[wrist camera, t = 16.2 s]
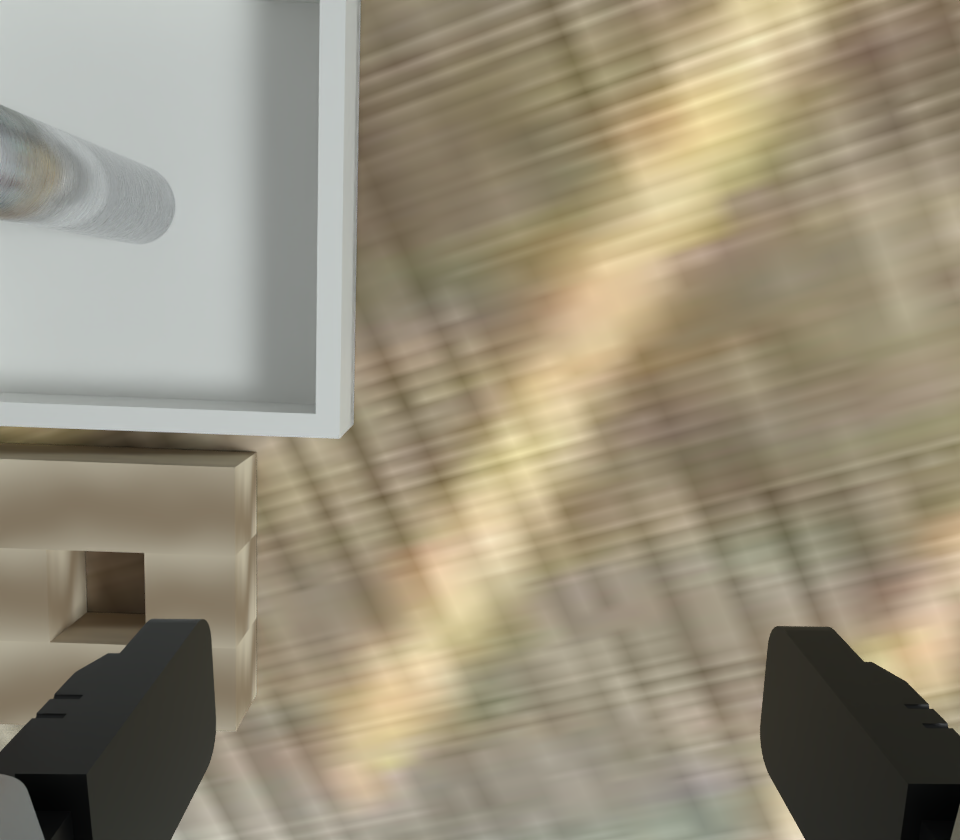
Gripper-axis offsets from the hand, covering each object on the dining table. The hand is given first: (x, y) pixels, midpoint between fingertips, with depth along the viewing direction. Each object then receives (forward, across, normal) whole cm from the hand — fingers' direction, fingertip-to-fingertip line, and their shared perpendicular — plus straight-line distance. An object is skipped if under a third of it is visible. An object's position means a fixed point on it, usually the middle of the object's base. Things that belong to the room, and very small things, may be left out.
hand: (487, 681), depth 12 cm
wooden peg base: (+26, +21, +9) cm, 35 cm away
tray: (+27, +15, -8) cm, 32 cm away
